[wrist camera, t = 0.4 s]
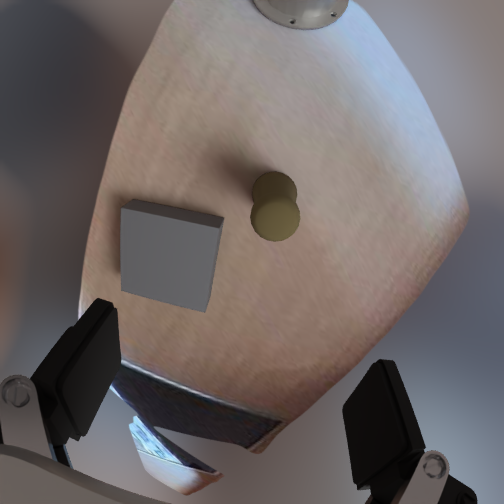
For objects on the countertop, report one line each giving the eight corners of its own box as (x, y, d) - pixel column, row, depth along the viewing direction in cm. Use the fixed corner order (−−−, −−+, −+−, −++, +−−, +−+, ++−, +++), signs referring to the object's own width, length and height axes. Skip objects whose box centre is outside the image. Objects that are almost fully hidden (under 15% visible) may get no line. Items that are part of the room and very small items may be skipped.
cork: (268, 222, 41) (267, 260, 31) (243, 187, 39) (232, 215, 29) (305, 199, 39) (316, 230, 29) (280, 163, 37) (284, 181, 27)
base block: (133, 199, 40) (121, 207, 37) (224, 217, 41) (219, 228, 37) (131, 277, 47) (121, 290, 43) (210, 297, 47) (205, 312, 44)
